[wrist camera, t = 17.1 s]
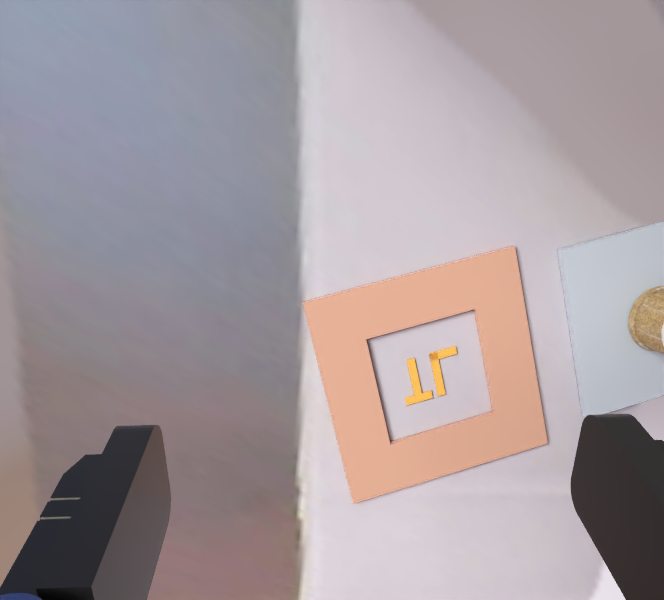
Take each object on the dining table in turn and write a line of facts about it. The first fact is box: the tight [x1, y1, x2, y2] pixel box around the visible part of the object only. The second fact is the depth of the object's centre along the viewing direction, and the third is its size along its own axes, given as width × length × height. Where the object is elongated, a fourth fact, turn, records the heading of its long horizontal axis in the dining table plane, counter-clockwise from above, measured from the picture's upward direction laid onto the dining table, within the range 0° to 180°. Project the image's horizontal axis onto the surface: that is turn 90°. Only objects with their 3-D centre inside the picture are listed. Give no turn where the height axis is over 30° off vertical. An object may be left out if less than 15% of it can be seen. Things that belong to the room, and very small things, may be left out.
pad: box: [557, 221, 664, 417], centre depth 40 cm, size 12×12×1 cm
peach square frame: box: [302, 246, 548, 504], centre depth 39 cm, size 14×14×1 cm
